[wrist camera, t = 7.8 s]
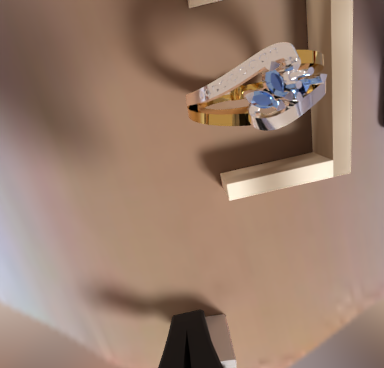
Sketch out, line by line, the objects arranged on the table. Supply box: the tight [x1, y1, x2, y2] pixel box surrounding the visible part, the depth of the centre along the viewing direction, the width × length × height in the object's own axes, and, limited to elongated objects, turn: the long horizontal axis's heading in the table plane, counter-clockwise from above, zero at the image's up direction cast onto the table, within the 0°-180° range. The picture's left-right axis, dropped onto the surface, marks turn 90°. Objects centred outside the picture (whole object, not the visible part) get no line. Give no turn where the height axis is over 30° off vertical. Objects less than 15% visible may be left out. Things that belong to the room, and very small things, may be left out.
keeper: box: [188, 0, 353, 201], centre depth 15 cm, size 8×13×2 cm, turn 13°
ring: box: [186, 42, 327, 130], centre depth 13 cm, size 7×3×8 cm, turn 98°
